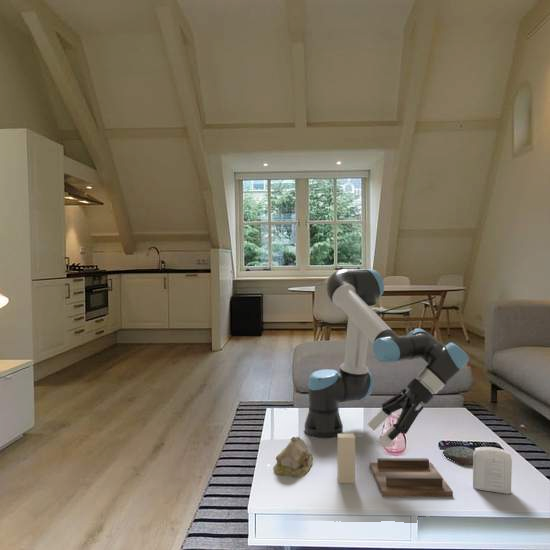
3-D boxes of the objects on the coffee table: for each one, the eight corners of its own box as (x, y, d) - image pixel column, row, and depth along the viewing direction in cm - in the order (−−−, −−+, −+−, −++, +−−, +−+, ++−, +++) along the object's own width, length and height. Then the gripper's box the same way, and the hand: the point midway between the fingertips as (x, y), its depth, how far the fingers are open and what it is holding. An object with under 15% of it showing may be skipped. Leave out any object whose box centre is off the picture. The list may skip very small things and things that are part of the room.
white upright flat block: (509, 488, 129) (510, 447, 129) (512, 495, 125) (513, 453, 125) (471, 483, 132) (472, 442, 132) (473, 490, 128) (473, 448, 128)
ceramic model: (299, 481, 135) (299, 448, 134) (268, 472, 140) (267, 441, 140) (318, 462, 147) (318, 433, 146) (289, 455, 152) (288, 427, 152)
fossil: (470, 470, 141) (470, 458, 141) (436, 455, 152) (436, 444, 152) (488, 463, 146) (489, 451, 146) (455, 448, 158) (455, 438, 157)
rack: (369, 467, 143) (369, 454, 143) (431, 467, 143) (431, 454, 143) (382, 496, 125) (382, 482, 125) (452, 496, 125) (452, 482, 125)
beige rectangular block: (337, 478, 136) (337, 433, 135) (353, 478, 136) (353, 433, 135) (338, 483, 133) (338, 437, 132) (355, 483, 133) (355, 437, 132)
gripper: (449, 408, 120) (395, 463, 121) (420, 383, 145) (375, 428, 146) (430, 389, 120) (375, 444, 121) (404, 367, 145) (359, 413, 145)
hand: (375, 435), depth 133 cm, fingers open, 13 cm apart
